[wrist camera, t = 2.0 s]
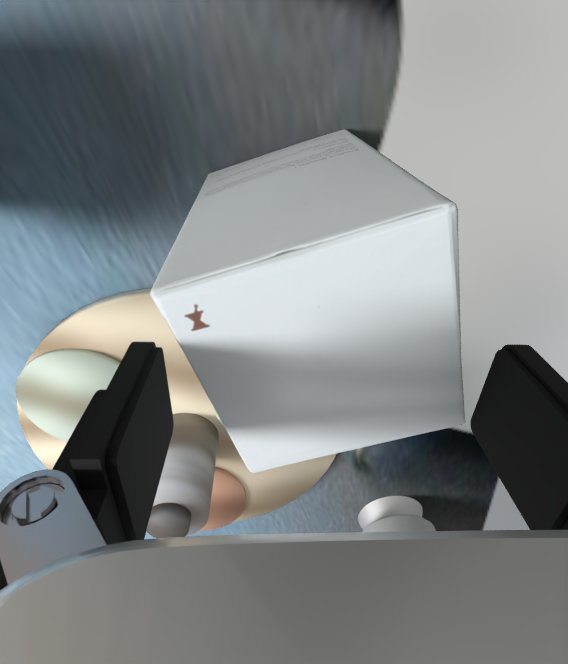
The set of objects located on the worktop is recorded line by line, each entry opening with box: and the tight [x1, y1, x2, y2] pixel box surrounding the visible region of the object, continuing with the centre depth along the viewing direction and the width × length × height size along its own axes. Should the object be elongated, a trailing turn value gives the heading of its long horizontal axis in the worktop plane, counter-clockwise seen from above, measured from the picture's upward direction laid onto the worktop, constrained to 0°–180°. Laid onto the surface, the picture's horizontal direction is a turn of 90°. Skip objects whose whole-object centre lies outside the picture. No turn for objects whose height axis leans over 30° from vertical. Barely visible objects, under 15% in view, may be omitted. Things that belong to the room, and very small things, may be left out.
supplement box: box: [150, 129, 465, 473], centre depth 16 cm, size 7×7×13 cm
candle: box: [358, 496, 436, 532], centre depth 30 cm, size 7×7×15 cm
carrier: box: [16, 288, 337, 538], centre depth 26 cm, size 22×22×8 cm
